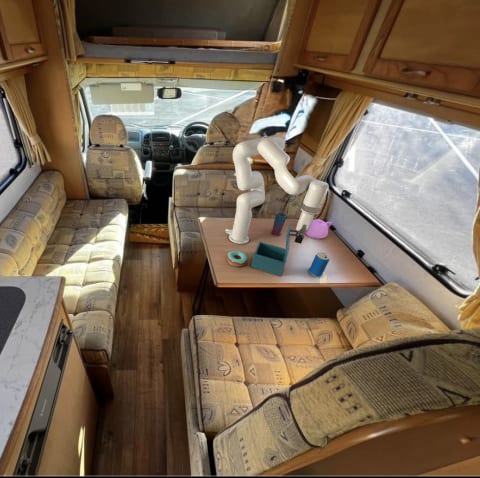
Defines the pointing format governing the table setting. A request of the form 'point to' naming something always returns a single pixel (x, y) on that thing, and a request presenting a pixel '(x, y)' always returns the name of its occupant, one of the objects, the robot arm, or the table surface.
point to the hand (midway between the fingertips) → (298, 239)
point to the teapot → (318, 229)
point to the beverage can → (319, 264)
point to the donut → (237, 262)
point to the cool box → (269, 258)
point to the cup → (279, 222)
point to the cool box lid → (289, 240)
